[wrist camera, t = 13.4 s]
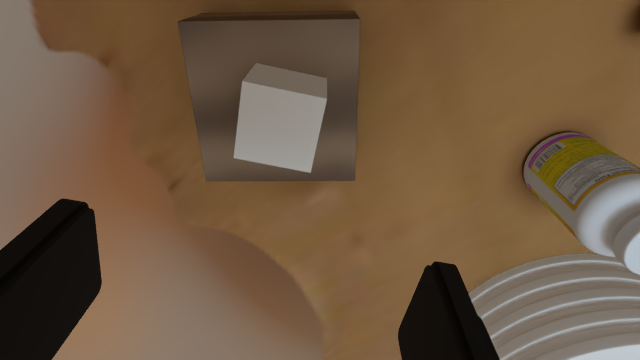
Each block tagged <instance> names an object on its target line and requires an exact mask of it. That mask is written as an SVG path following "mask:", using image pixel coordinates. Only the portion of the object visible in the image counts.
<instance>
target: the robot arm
mask: <svg viewBox="0 0 640 360" xmlns="http://www.w3.org/2000/svg"><path fill="white" fill-rule="evenodd" d="M101 283H102V280H101V271H100V261H99V252H98V243H97V233H96V224H95V215H94V211H93V209H90V208H89V207H88V204H87V203H85V202H80V201H75V200H69V199H60V200H59V201H57V202H56V203H55V204H54V205H53V206H52V207H50V208H49V209H48V210H47V211H46V212H44V213H43V214H42V215H41V216H40V217H39V218H37V219H36V220H35V221H34V222H33V223H32V224H30V225H29V226H28V227H27V228H26V229H25V230H23V232H21V233H20V234H19V235H18V236H16V237H15V238H14V239H13V240H12V241H11V242H9V243H8V244H7V245H6V246H5V247H4V248H2V249H1V250H0V360H52V358H53V357H54V356H55V354H56V353H57V351H58V350H59V349H60V347H61V346H62V344H63V343H64V341H65V340H66V339H67V337H68V336H69V334H70V333H71V332H72V330H73V329H74V327H75V326H76V325H77V323H78V322H79V320H80V319H81V318H82V316H83V315H84V313H85V312H86V310H87V309H88V308H89V306H90V305H91V303H92V302H93V301H94V299H95V298H96V296H97V295H98V293H99V291H100V288H101ZM398 340H399V346H400V351H401V357H402V360H500V359H499V356H498V354H497V352H496V350H495V347H494V345H493V343H492V341H491V338H490V336H489V334H488V331H487V329H486V327H485V325H484V323H483V321H482V319H481V318H480V317H479V316H478V315H477V313H476V310H475V308H474V306H473V303H472V301H471V299H470V296H469V294H468V292H467V289H466V287H465V285H464V282H463V280H462V278H461V275H460V273H459V271H458V269H457V267H456V265H454V264H448V263H442V262H434V263H432V265H431V266H430V265H427V266H426V267H425V269H424V272H423V274H422V276H421V279H420V281H419V283H418V286H417V288H416V290H415V293H414V295H413V297H412V300H411V302H410V304H409V306H408V309H407V311H406V313H405V316H404V318H403V320H402V323H401V325H400V328H399V332H398Z"/></svg>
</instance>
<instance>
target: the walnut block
mask: <svg viewBox="0 0 640 360" xmlns="http://www.w3.org/2000/svg"><path fill="white" fill-rule="evenodd" d="M178 25H179V31H180V36H181V42H182V48H183V53H184V59H185V65H186V70H187V76H188V81H189V87H190V93H191V98H192V104H193V110H194V115H195V121H196V127H197V132H198V138H199V143H200V149H201V155H202V160H203V166H204V172H205V177H206V181H355V164H356V134H357V103H358V73H359V43H360V18H359V17H358V15H357V14H356V12H355V11H333V12H262V13H202V14H199V15H196V16H193V17H190V18H187V19H184V20H181V21H178ZM256 63H259V64H263V65H268V66H273V67H277V68H282V69H287V70H291V71H296V72H301V73H305V74H310V75H315V76H319V77H324V78H327V102H326V106H325V111H324V115H323V120H322V124H321V128H320V133H319V137H318V142H317V146H316V151H315V155H314V160H313V164H312V169H311V173H309V172H303V171H298V170H293V169H288V168H283V167H277V166H272V165H267V164H262V163H256V162H251V161H246V160H241V159H236V158H234V150H235V141H236V132H237V123H238V114H239V105H240V96H241V87H242V81H243V79H244V78H245V77H246V76H247V74H248V73H249V72H250V70H251V69H252V68H253V66H254V65H255V64H256Z"/></svg>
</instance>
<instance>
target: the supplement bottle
mask: <svg viewBox="0 0 640 360" xmlns="http://www.w3.org/2000/svg"><path fill="white" fill-rule="evenodd" d="M524 179H525V182H526V184H527V186H528V187H529V188H530V190H531V191H532V192H533V193H534V194H535V195H536V196H537V197H538V198H539V199H540V200H541V201H542V202H543V203H544V204H545V205H546V206H547V208H548V209H549V210H550V211H551V212H552V213H553V214H554V215H555V216H556V217H557V218H558V219H559V220H560V221H561V222H562V223H563V224H564V225H565V226H566V227H567V228H568V229H569V231H570V232H571V233H572V234H573V235H574V236H575V237H576V238H577V239H578V240H579V241H580V242H581V243H582V244H583V245H584V246H585V247H586V248H588V249H589V250H591V251H593V252H595V253H597V254H600V255H604V256H610V257H616V258H617V259H618V260H619V261H620V262H621V263H622V264H623V265H624V266H625V267H627V268H628V269H629V270H630V271H632V272H634V273H636V274H639V275H640V168H639V167H637V166H635V165H634V164H632V163H630V162H629V161H627V160H625V159H624V158H622V157H621V156H619V155H617V154H616V153H614V152H612V151H611V150H609V149H608V148H606V147H604V146H603V145H601V144H599V143H598V142H596V141H594V140H593V139H591V138H589V137H587V136H585V135H583V134H579V133H573V132H567V133H561V134H557V135H554V136H551V137H549V138H547V139H545V140H544V141H542V142H541V143H540V144H538V145H537V146H536V147H535V148H534V149H533V150H532V151H531V153H530V154H529V156H528V158H527V160H526V162H525V165H524Z"/></svg>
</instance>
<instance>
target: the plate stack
mask: <svg viewBox="0 0 640 360" xmlns="http://www.w3.org/2000/svg"><path fill="white" fill-rule="evenodd" d="M468 294H469V296H470V299H471V301H472V303H473V306H474V308H475V310H476V313H477V315H478V316H479V317H480V318H481V319H482V321H483V323H484V325H485V327H486V329H487V331H488V334H489V336H490V338H491V341H492V343H493V345H494V347H495V350H496V352H497V354H498V356H499V359H500V360H640V275H639V274H636V273H634V272H632V271H630V270H629V269H628V268H627V267H625V266H624V265H623V264H622V263H621V262H620V261H619V260H618V259H617V258H616V257H610V256H604V255H600V254H568V255H560V256H553V257H548V258H543V259H539V260H535V261H531V262H528V263H525V264H522V265H519V266H516V267H514V268H511V269H509V270H507V271H504V272H502V273H500V274H498V275H496V276H494V277H492V278H491V279H489V280H487V281H486V282H484V283H482V284H481V285H479V286H478V287H476V288H475V289H474V290H472V291H471V292H470V293H468Z"/></svg>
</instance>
